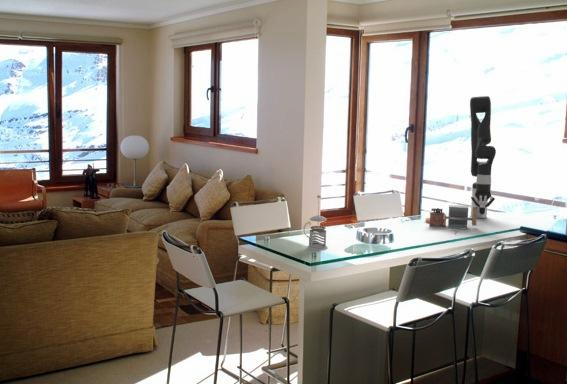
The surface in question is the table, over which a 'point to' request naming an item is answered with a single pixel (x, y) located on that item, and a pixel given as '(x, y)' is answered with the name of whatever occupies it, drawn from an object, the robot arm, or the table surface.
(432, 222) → the lighter
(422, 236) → the table surface
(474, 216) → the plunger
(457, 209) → the grey box
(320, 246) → the french press
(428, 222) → the coaster
